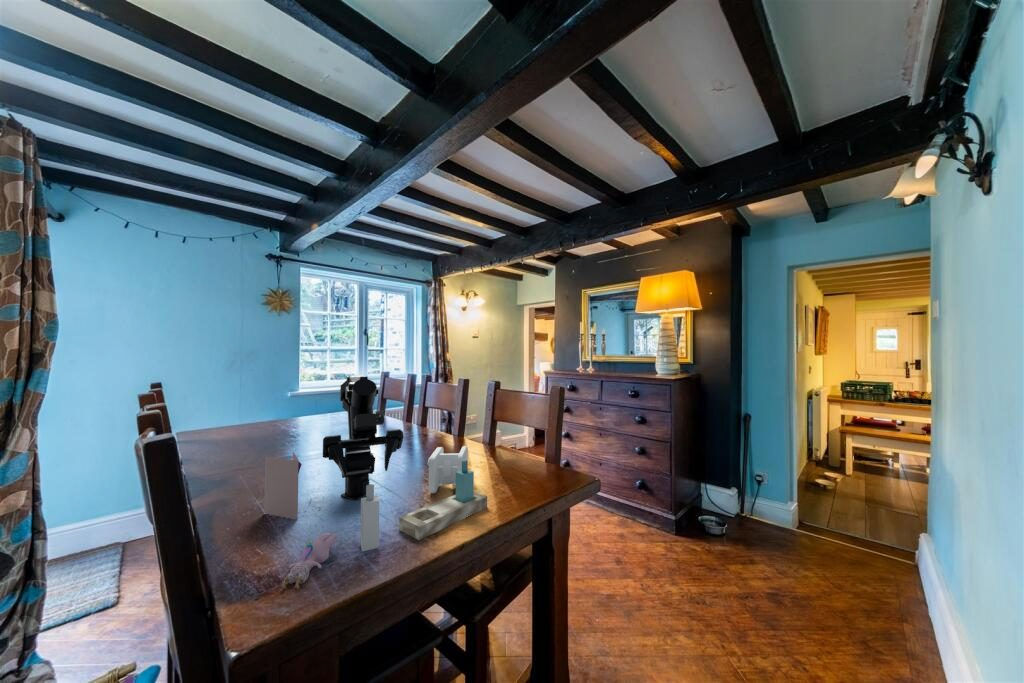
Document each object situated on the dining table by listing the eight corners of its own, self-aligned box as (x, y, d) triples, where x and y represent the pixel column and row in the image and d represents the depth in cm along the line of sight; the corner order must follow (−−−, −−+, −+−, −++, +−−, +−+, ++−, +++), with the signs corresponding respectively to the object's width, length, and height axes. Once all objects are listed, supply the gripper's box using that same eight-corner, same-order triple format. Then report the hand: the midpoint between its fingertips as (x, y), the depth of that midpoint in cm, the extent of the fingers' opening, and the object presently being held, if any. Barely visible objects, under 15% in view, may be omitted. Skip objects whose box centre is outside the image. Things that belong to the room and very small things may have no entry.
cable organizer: (462, 496, 106) (462, 457, 106) (426, 497, 106) (426, 457, 106) (468, 479, 121) (468, 444, 121) (436, 479, 121) (436, 444, 121)
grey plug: (360, 544, 79) (361, 484, 80) (376, 540, 81) (377, 481, 81) (361, 551, 76) (362, 489, 77) (378, 547, 78) (379, 486, 78)
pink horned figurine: (307, 597, 64) (348, 541, 79) (305, 567, 63) (346, 515, 78) (273, 597, 64) (320, 540, 79) (270, 566, 63) (317, 515, 78)
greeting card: (301, 519, 92) (302, 459, 93) (266, 527, 87) (267, 465, 88) (295, 504, 101) (296, 450, 102) (263, 511, 96) (264, 455, 97)
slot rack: (419, 540, 81) (419, 526, 81) (399, 529, 86) (399, 517, 86) (487, 507, 98) (487, 496, 98) (467, 500, 103) (467, 489, 103)
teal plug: (464, 513, 95) (464, 463, 95) (455, 510, 97) (455, 461, 97) (473, 509, 97) (473, 460, 98) (465, 505, 99) (464, 458, 100)
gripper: (323, 403, 87) (322, 460, 77) (402, 398, 96) (411, 449, 86) (322, 430, 94) (322, 486, 84) (396, 423, 102) (404, 473, 92)
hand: (366, 473), depth 86 cm, fingers open, 9 cm apart
